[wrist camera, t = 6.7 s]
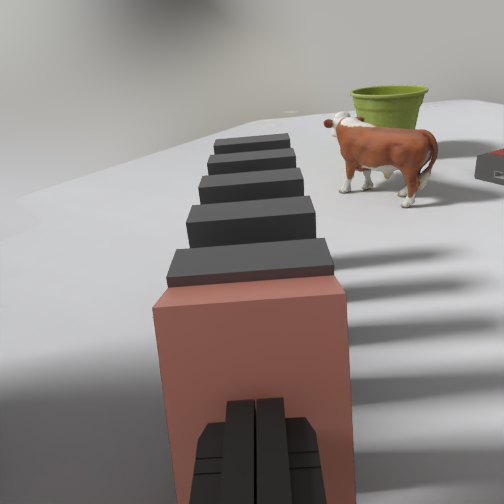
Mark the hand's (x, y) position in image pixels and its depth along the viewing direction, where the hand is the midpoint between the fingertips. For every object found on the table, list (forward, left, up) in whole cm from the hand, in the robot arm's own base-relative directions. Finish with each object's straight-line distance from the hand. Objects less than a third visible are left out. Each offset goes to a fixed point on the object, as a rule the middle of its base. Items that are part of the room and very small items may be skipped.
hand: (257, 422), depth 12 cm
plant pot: (+17, +51, -7) cm, 55 cm away
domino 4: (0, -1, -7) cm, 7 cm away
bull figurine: (+12, +37, -7) cm, 40 cm away
